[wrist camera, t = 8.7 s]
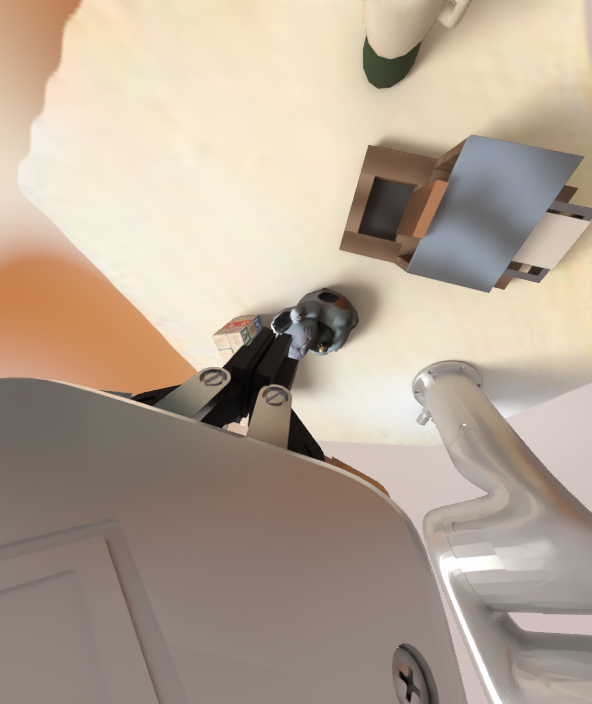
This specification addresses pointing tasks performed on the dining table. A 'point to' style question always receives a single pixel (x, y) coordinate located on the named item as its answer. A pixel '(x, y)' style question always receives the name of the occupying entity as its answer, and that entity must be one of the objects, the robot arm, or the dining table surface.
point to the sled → (427, 203)
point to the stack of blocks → (237, 339)
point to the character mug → (401, 34)
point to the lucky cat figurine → (317, 323)
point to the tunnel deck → (458, 208)
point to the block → (550, 240)
